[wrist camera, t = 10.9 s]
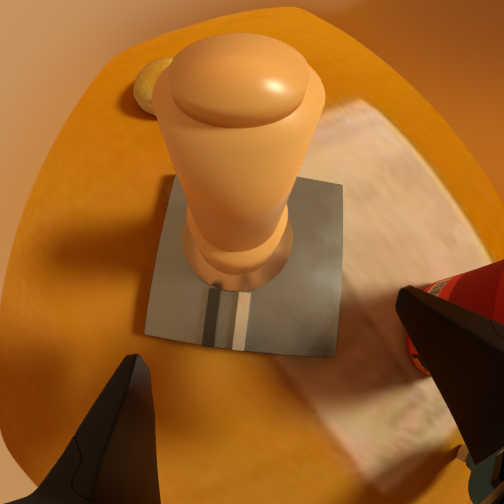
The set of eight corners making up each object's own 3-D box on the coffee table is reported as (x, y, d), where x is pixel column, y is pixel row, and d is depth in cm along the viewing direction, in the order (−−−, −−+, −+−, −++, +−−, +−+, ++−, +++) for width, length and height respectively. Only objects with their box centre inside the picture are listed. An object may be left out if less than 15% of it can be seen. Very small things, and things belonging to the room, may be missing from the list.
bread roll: (139, 79, 23) (131, 52, 20) (220, 63, 24) (219, 35, 20) (134, 131, 21) (121, 102, 18) (231, 112, 22) (231, 80, 18)
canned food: (394, 376, 17) (505, 399, 6) (407, 274, 19) (514, 232, 8) (457, 374, 17) (553, 381, 6) (466, 287, 19) (558, 259, 8)
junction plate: (327, 354, 17) (336, 357, 15) (151, 333, 17) (142, 334, 15) (335, 193, 20) (344, 182, 19) (182, 173, 20) (177, 160, 18)
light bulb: (486, 397, 16) (572, 406, 5) (481, 455, 14) (552, 476, 3) (430, 441, 15) (524, 479, 4) (427, 496, 13) (496, 540, 2)
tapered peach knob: (255, 289, 16) (306, 191, 4) (183, 252, 17) (87, 109, 5) (289, 219, 18) (364, 57, 5) (220, 188, 18) (205, 11, 6)
